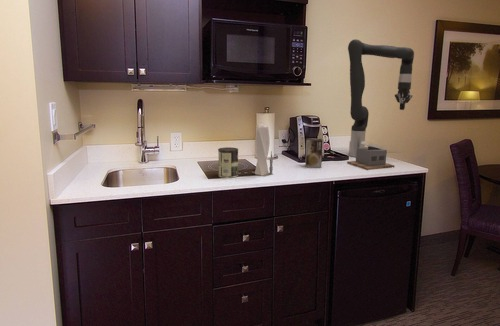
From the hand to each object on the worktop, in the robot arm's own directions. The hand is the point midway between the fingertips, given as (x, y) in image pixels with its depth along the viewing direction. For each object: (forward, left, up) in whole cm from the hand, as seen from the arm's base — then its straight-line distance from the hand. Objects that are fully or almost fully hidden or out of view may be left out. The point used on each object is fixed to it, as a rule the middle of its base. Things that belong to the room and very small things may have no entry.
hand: (401, 109), depth 231 cm
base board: (+9, -29, -32) cm, 44 cm away
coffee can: (+5, -117, -32) cm, 121 cm away
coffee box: (0, -63, -32) cm, 71 cm away
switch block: (+9, -29, -31) cm, 43 cm away
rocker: (+9, -29, -20) cm, 36 cm away
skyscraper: (+8, -99, -32) cm, 105 cm away
